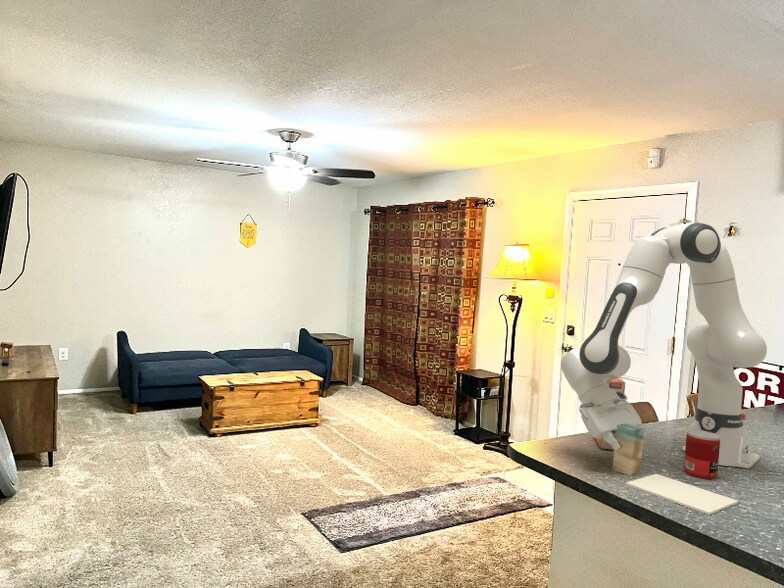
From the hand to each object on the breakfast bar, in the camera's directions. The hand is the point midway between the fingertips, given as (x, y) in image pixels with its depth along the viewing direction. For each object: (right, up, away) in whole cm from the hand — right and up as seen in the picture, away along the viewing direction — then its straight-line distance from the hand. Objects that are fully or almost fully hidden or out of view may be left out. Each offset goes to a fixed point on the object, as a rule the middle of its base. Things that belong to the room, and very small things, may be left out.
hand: (629, 446), depth 154 cm
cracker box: (+3, -6, +26) cm, 27 cm away
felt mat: (+6, -8, -14) cm, 17 cm away
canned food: (+20, -8, +2) cm, 21 cm away
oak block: (-1, -7, 0) cm, 7 cm away
